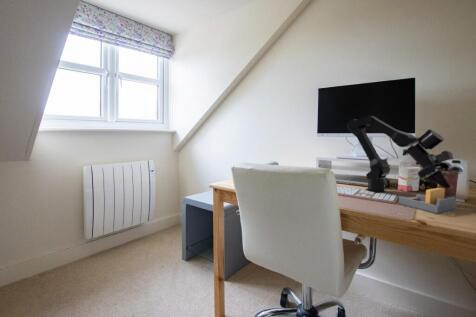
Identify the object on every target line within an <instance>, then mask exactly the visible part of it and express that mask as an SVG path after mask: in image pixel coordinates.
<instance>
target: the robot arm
mask: <svg viewBox="0 0 476 317" xmlns="http://www.w3.org/2000/svg"><path fill="white" fill-rule="evenodd" d="M369 126H371V127H372V128H375V129H376V130H378V131H379V132H380V133H382V134H384V135H386V136H388V137H389V138H390V140H392V142H393V143H394V144H396V145H397V146H398V147H400V148H405V147H406V148H405V149H402V156H408V155H409V156H410V157H411V158H412V159H413V160H414V161H415V164H416V166H420V168H422V169H420V171H419V172H418V176H419V177H420V178H419V179H421V180H422V179H426V180H428V181H431V182H433V183H435V184H439V185H441V186H444V187H446V188H449V187H450V185H449V184H448V183H447V182H446V180H445V179H444V177H443V176H442V175H441V171H442V170H451V167H452V164H451V163H449V162H447V161H448V160H450V161H451V160H454V156H453V155H454V153H452V152H451V151H448V150H444V151H441V153H438V154H436V155H435V154H433V153H430V152H428V150H433V149H435V148H436V147H437V146H438V145H440V144H441V143H442V142H444V141H445V138H444V137H443V136H442V135H441V134H439V133H438V132H436V131H434V130H433V129H427V130H426V131H425V132H424V133H423V134H422V135H420V137H419V136H418V137H417V136H414V135H413V134H412V133H409V132H405V131H402V130H398V129H396V128H394V127H393V126H391V125H390V124H388V123H386V122H384V121H382V120H380V119H379V118H377V117H376V116H372V115H369V116H367V117H363V118H358V119H354V118H353V119H350V120H349V121H348V122H347V125H346V127H347V129H348V130H349V132H350V133H351V134H352V135H354V136H355V137H356V138H357V140H358V142H359V144H360V146H361V148H362V150H363V151H364V152H363V153H364V154H365V155H366V156H367V158H368V160H369V168H370V171H368V173H366V175H365V176H366V179H368V181H367V188H365V190H366V191H369V190H370V191H369V192H373V191H376V192H375V193H382V191H384V192H386V190H385V179H386V177H387V176H388V175H389V174H390V173H391V172H390V171H391V165H390V164H389V163H388V161H387V159H386V158H384V159H383V158H381V157H380V156H379V154H378V152H377V150H376V148H375V147H374V145H373V143H372V141H371V140H370V138H369V136H368V134H367V129H366V127H369ZM426 176H427V177H426Z"/></svg>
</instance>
